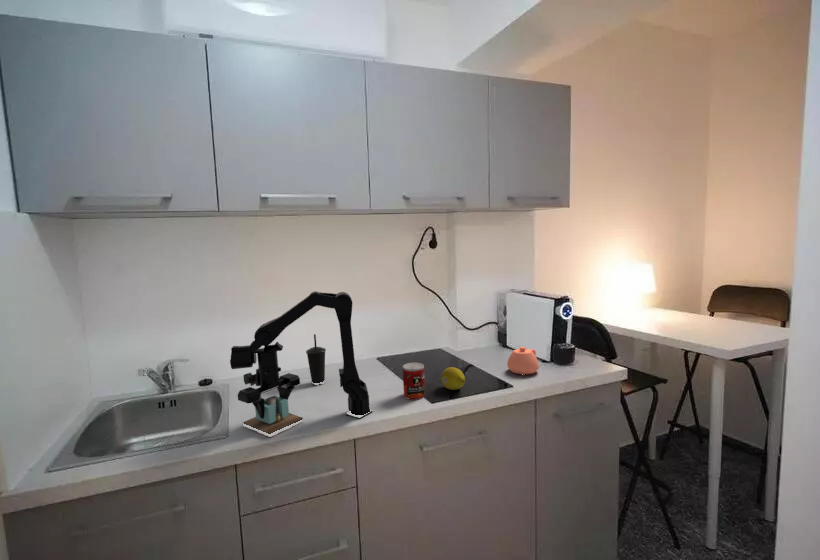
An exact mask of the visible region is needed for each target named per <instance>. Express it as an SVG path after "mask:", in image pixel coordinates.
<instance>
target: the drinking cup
mask: <svg viewBox="0 0 820 560" xmlns="http://www.w3.org/2000/svg"><path fill="white" fill-rule="evenodd" d="M316 336H317V335H316V333H314V334H313V339H314V340H313V342H314V346H312V347H311V348H308V349H306V351H305V353H306V355H307V362H308V367H309V372H310V379H311V383H312V382H313V383H320V382H323V381H324V380H325V379H326V378H325V377H326V376H325V375H326V373H325V371H326V348H325V347H322V346H317V337H316ZM325 381H326V380H325Z"/></svg>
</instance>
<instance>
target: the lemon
mask: <svg viewBox="0 0 820 560" xmlns="http://www.w3.org/2000/svg"><path fill="white" fill-rule="evenodd" d="M440 377H441V383H442V384H443V386H444V387H445V388H446V389H448V390H451V391H456V390H460V389H461V388H462V387H464V385H465V383H466V377H465V374H464V373H463V371H461V370H460V369H459V368H457V367H453V366H451V367H447V368H446V369H444V370H443V371H442V374H441V376H440Z"/></svg>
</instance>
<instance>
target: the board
mask: <svg viewBox="0 0 820 560" xmlns="http://www.w3.org/2000/svg"><path fill="white" fill-rule="evenodd" d="M265 399H266V401H267V405H272V404H273V405H275V413H276V421H275V422H273V423H271V424H268V423H266V422H263V421H261V420H258V419H256V416H255V417H252V418H250V419H248V420H244V421H243V422H242V424H243V423H244V424H246V425H249V426H251V427H253V428H256V429H258V430H261V431H263V432H266V433H268V434H271V433H273V432H275V431H277V430H280V429H282V428H284V427H286V426H289V425H291V424H293V423H296V422H298V421H300V420H302V419H303V420H304V417H302V416H299V415H297V414H293V413H291V412H289V415H288V416H286V417H284V418H282V417H280V415H279V414H277V406H276V397H272V396H269V397H267V398H265Z"/></svg>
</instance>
